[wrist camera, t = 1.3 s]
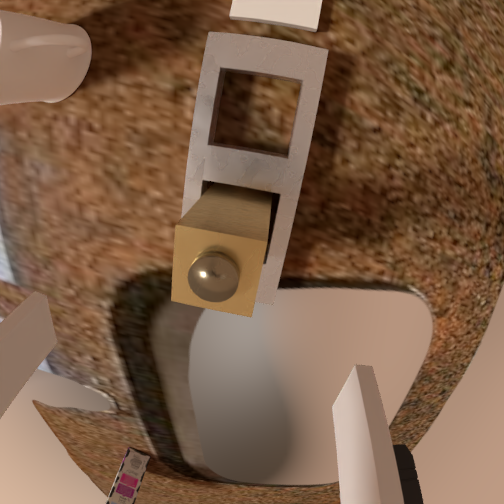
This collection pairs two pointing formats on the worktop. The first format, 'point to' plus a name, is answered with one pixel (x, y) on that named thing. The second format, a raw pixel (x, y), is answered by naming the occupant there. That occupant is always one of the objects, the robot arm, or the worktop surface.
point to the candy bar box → (128, 478)
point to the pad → (279, 12)
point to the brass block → (222, 249)
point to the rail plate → (248, 159)
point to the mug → (40, 58)
